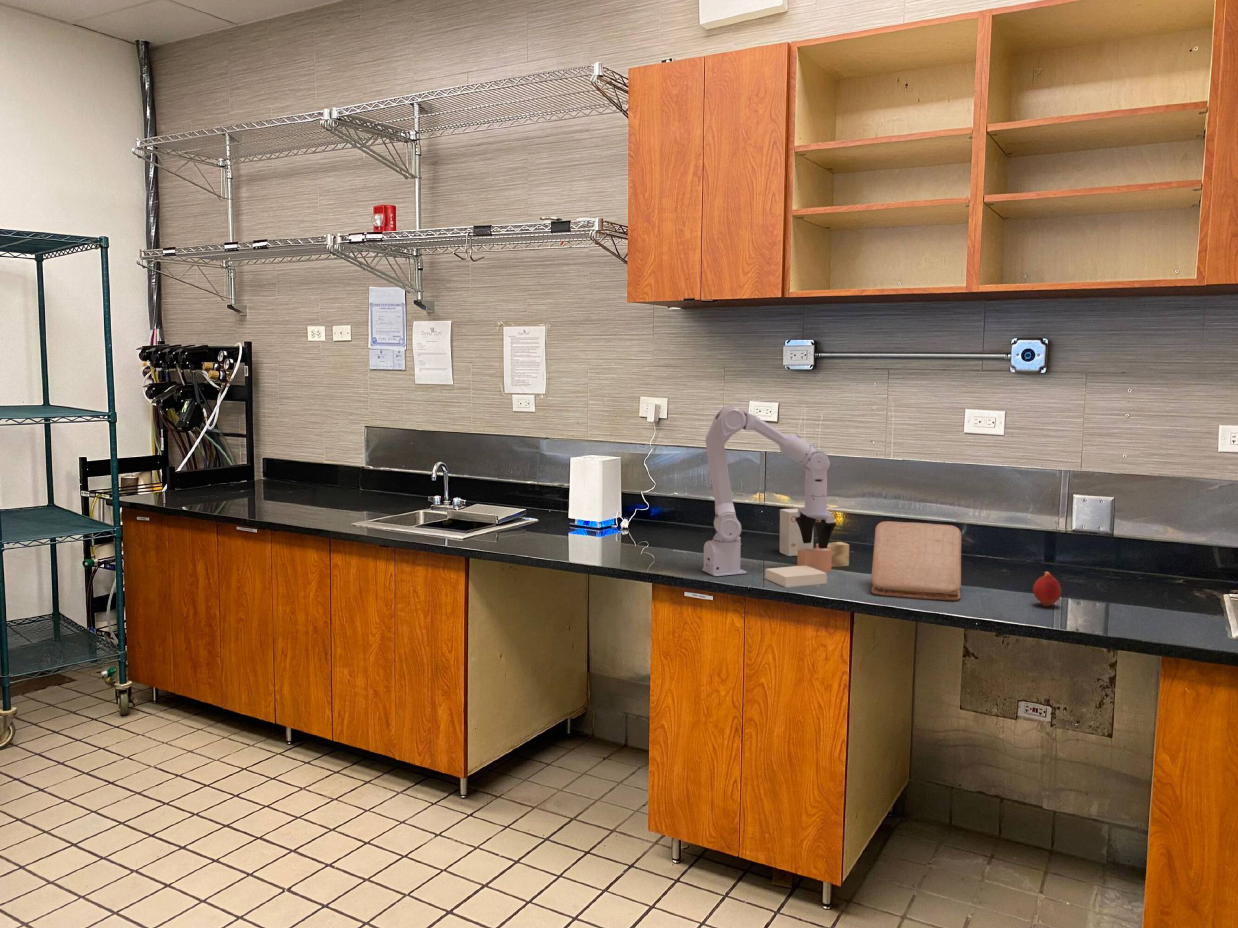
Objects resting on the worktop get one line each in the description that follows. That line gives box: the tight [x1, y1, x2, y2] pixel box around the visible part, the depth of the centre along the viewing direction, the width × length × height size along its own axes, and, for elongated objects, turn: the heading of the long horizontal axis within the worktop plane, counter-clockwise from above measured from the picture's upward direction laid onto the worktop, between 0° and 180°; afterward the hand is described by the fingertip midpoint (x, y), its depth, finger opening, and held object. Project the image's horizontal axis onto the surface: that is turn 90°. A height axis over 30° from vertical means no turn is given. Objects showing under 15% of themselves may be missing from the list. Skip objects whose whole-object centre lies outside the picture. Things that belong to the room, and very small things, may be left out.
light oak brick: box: [815, 541, 850, 568], centre depth 246 cm, size 8×4×6 cm, turn 110°
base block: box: [765, 565, 828, 588], centre depth 229 cm, size 12×10×3 cm
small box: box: [779, 507, 815, 557], centre depth 261 cm, size 8×6×13 cm
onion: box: [1032, 571, 1062, 607], centre depth 203 cm, size 6×6×8 cm
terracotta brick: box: [796, 547, 832, 574], centre depth 238 cm, size 8×4×6 cm, turn 110°
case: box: [870, 520, 962, 602], centre depth 219 cm, size 20×21×16 cm
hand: (814, 545), depth 238 cm, fingers open, 7 cm apart
